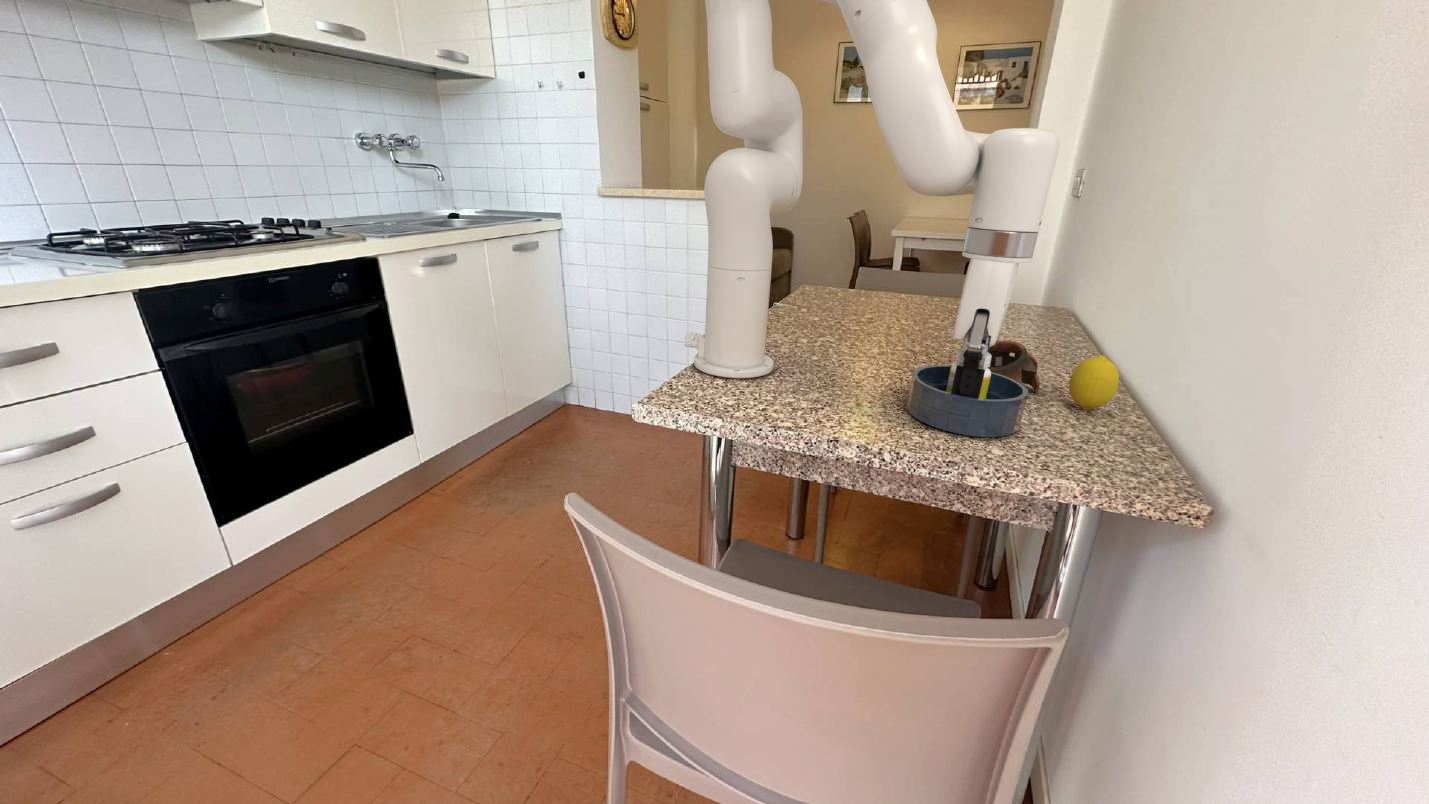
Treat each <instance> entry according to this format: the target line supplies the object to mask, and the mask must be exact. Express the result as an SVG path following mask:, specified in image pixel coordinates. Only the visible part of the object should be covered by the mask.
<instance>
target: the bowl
mask: <svg viewBox="0 0 1429 804" xmlns="http://www.w3.org/2000/svg"><path fill="white" fill-rule="evenodd" d="M952 366H953V365H950V364H949V365H948V364H942V365H941V364H940V365H939V364H935V365H926V366H922V367H919V368H916V369H914V370H913V372H912V374H911V379H910V385H909V391H908V395H907V400H906V401H907V402H906V409H907V412H908V413H909V414H910V415H912V416H913V417H914V418H915V419H916V420H918V421H921V422H922V423H924V424H926V425H928V426H931V427H933V428H937V429H940V430H942V431H946V432H949V433H953V434H957V435H963V436H970V437H980V438H981V437H982V438H991V437H992V438H993V437H995V438H996V437H998V438H999V437H1004V436H1009V435H1013V434H1015V432H1017V431H1018V430H1020V426H1021V423H1022V419H1023V414H1024V411H1025V407H1026V403H1027V400H1028V396H1029V389H1027V387H1026V386H1025V385H1024V384H1023V383H1022V384H1021V383H1019V382H1017V381H1015V380H1013V379H1011V378H1008V377H1005V376H1003V375H1000V374H997V373H993V372H991V377H990V382H989V386H988V390H987V395H986V399H979V398H971V397H966V396H961V395H955V394H952V393H948V392H946V390H947V385H948V380H949V375H950V370H951V367H952Z"/></svg>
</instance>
